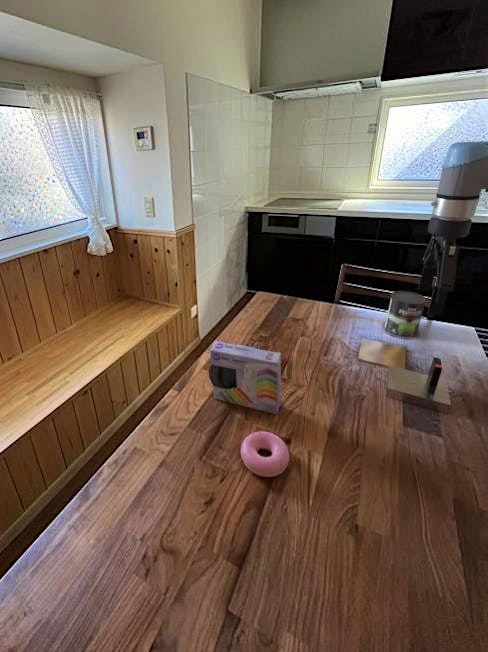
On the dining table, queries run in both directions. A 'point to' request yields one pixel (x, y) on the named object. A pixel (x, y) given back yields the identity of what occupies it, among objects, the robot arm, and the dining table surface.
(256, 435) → the doughnut
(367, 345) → the plate
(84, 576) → the dining table surface
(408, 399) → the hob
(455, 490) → the dining table surface
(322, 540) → the dining table surface
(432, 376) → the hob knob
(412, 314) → the coffee can
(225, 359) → the cake pan box
